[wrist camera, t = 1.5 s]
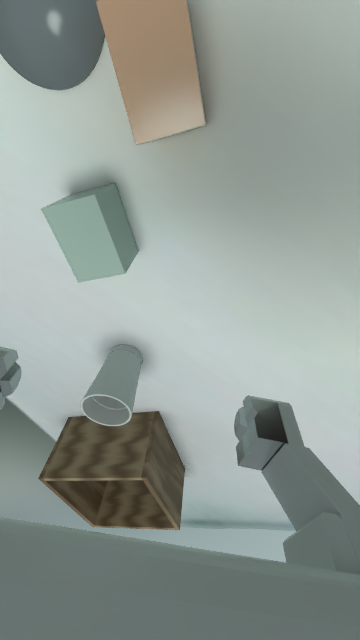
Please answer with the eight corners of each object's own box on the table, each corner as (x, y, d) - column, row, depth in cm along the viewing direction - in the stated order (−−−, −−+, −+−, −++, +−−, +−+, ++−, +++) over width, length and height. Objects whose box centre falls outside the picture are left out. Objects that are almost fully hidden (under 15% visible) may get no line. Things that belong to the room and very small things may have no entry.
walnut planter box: (158, 411, 60) (146, 477, 48) (184, 468, 74) (179, 530, 63) (68, 417, 65) (38, 478, 53) (109, 469, 79) (92, 526, 68)
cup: (97, 355, 51) (71, 408, 41) (121, 334, 47) (98, 386, 38) (130, 377, 54) (112, 432, 44) (155, 358, 50) (141, 413, 40)
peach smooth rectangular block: (188, 4, 24) (180, -36, 18) (206, 125, 29) (205, 124, 23) (122, 30, 25) (95, 1, 19) (150, 141, 30) (136, 145, 24)
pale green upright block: (115, 182, 33) (94, 194, 27) (138, 251, 38) (125, 273, 32) (70, 195, 34) (41, 208, 29) (98, 259, 39) (78, 282, 33)
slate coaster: (68, -141, 20) (64, -148, 20) (123, 68, 27) (122, 67, 26) (-55, -70, 23) (-61, -74, 22) (23, 105, 29) (20, 105, 29)
